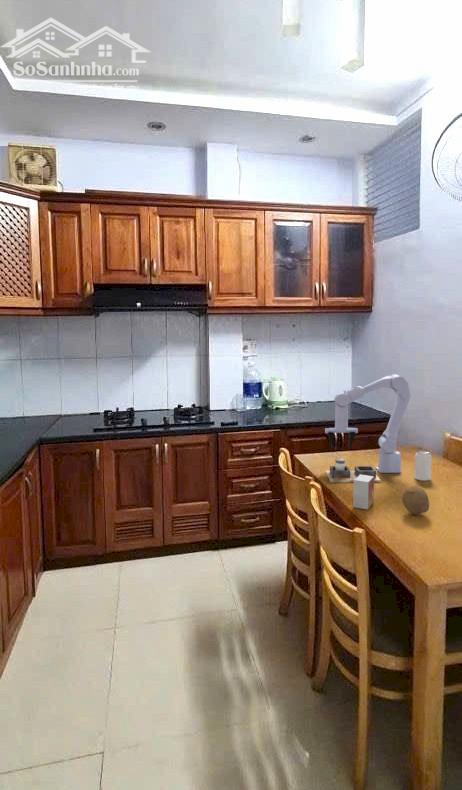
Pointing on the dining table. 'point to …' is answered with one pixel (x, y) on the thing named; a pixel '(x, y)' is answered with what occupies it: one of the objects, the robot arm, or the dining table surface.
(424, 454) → the can
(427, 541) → the dining table surface
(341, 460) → the small lidded jar
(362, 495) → the small box
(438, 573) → the dining table surface
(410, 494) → the natural sponge
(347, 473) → the socket panel
